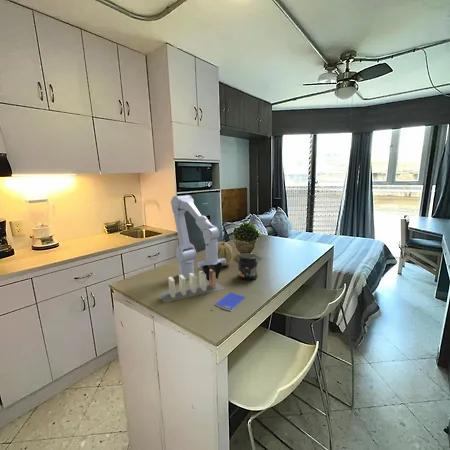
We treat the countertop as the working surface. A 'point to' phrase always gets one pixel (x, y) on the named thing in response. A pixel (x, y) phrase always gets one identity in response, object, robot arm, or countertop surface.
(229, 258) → the beige rounded lump
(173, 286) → the domino
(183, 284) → the domino
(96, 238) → the countertop surface
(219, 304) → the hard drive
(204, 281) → the domino
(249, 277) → the supplement container
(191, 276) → the domino
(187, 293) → the domino mat
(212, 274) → the salmon orange end domino
